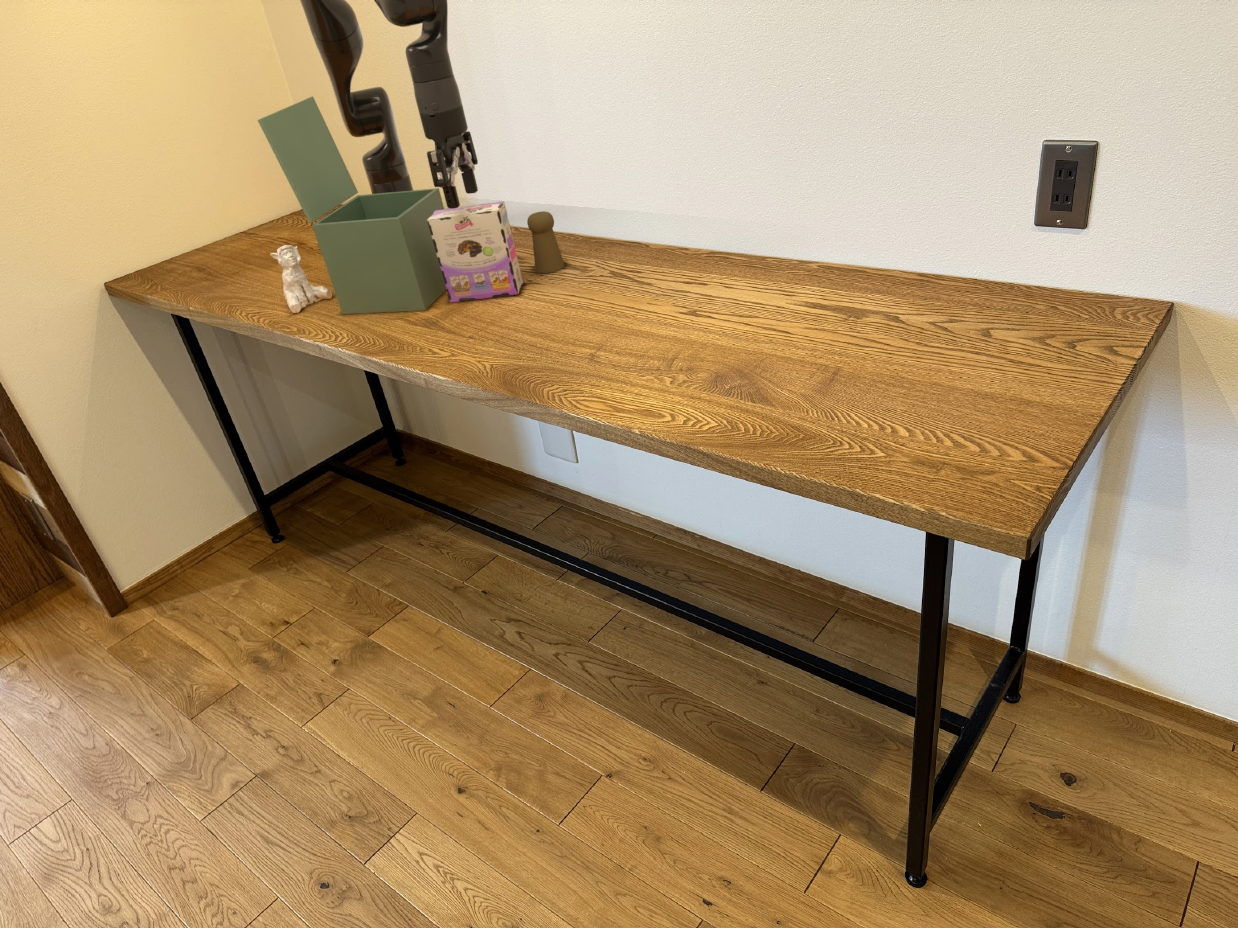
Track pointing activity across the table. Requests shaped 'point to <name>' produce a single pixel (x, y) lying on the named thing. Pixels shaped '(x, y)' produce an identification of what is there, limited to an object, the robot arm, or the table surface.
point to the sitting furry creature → (297, 280)
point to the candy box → (476, 251)
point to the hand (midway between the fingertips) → (463, 200)
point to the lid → (309, 157)
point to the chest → (383, 252)
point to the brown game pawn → (544, 243)
